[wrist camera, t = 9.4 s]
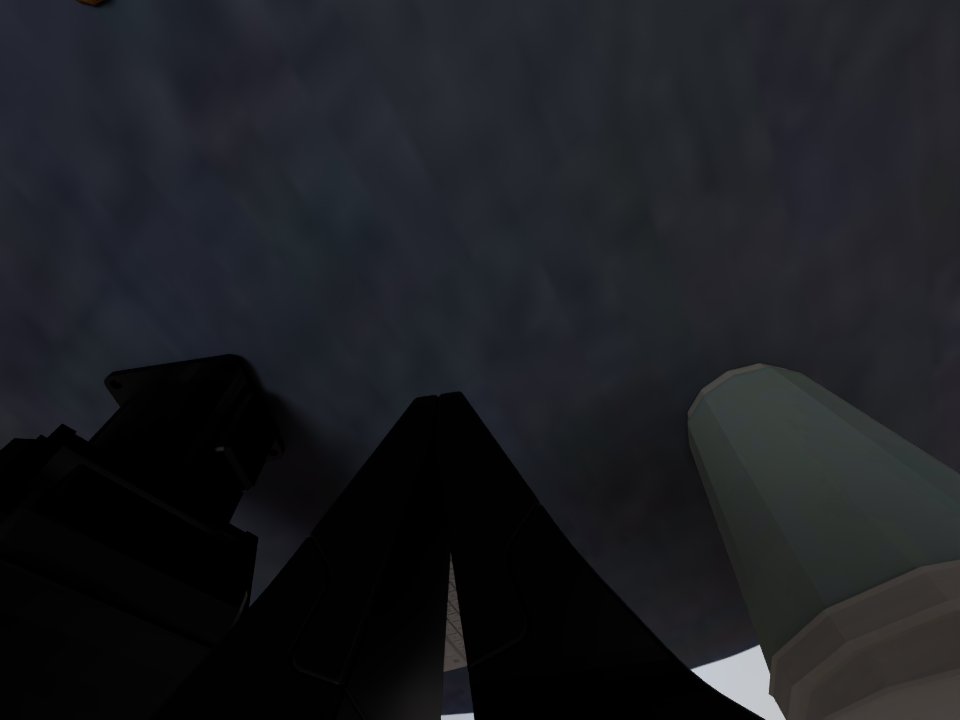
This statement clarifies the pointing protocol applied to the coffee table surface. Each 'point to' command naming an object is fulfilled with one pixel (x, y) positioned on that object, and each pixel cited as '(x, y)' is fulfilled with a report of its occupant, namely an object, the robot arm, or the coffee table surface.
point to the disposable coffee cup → (834, 547)
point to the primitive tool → (90, 1)
